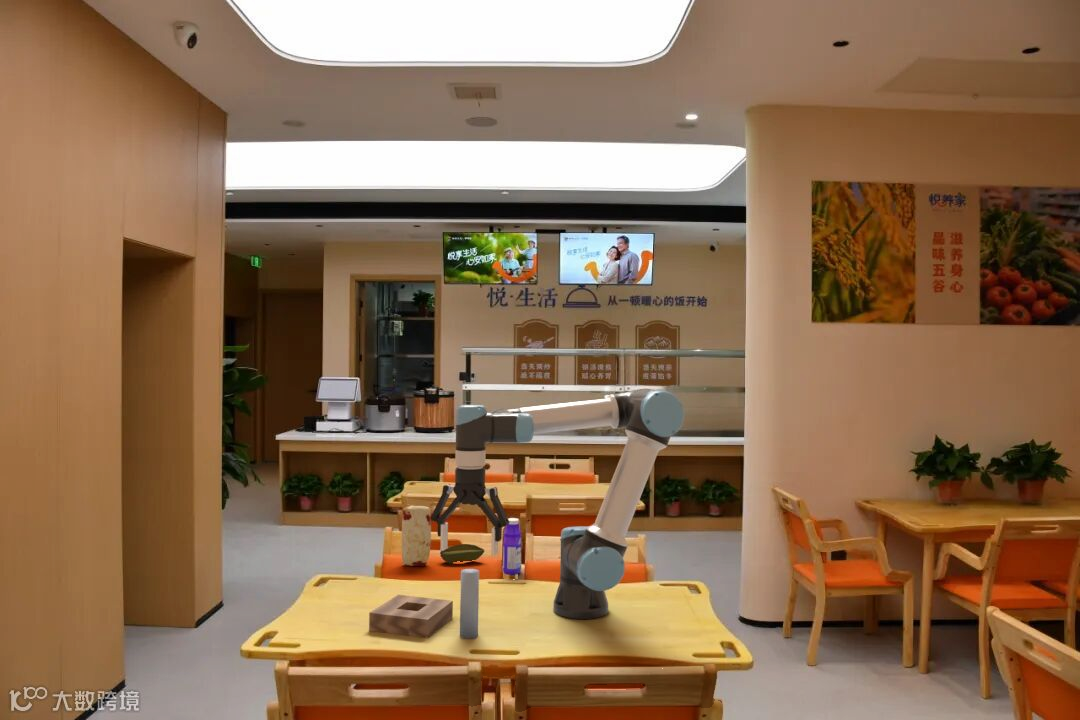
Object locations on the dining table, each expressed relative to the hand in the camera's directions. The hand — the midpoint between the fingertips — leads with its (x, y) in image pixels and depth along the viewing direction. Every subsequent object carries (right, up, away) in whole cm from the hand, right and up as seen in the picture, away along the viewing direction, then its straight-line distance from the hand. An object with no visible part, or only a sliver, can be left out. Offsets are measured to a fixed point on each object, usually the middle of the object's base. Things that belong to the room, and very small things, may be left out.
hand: (469, 551), depth 195 cm
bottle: (+9, -21, +58) cm, 62 cm away
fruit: (-9, -21, +69) cm, 72 cm away
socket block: (-15, -20, +7) cm, 27 cm away
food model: (-24, -21, +65) cm, 72 cm away
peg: (0, -21, 0) cm, 21 cm away
